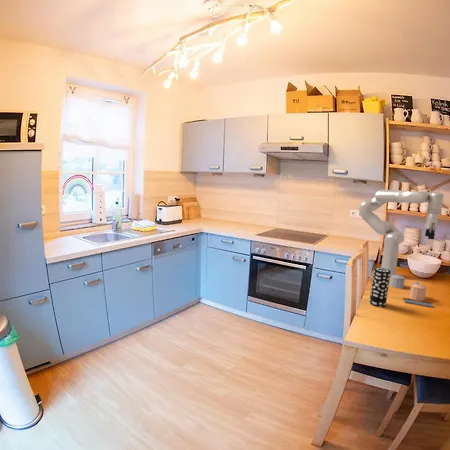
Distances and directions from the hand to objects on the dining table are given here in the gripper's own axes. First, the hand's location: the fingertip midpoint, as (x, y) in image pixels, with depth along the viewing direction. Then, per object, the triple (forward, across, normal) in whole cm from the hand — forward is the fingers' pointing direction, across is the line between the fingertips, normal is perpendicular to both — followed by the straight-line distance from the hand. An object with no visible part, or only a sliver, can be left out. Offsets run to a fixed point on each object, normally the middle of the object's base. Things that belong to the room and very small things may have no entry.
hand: (429, 237), depth 212 cm
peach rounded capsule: (+32, +34, -8) cm, 47 cm away
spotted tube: (+32, +52, -30) cm, 68 cm away
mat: (+32, +34, -8) cm, 48 cm away
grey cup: (+32, +18, -17) cm, 41 cm away
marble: (+31, +6, -4) cm, 32 cm away
